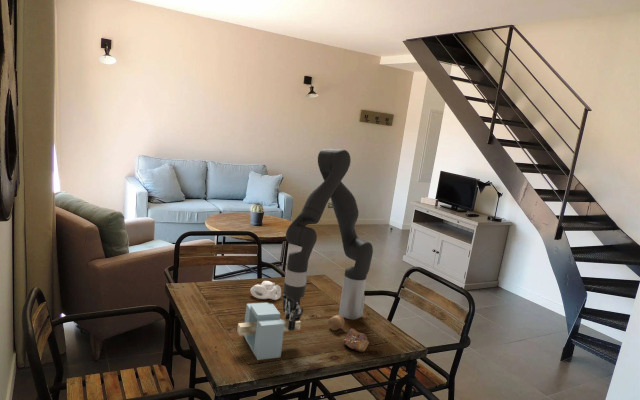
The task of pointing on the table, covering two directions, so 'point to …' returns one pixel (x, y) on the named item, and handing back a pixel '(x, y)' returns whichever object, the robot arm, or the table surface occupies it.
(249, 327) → the long cream stick
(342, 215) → the robot arm
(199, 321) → the table surface
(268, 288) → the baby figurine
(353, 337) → the mineral specimen
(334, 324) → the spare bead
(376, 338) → the table surface
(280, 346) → the light blue notched block
